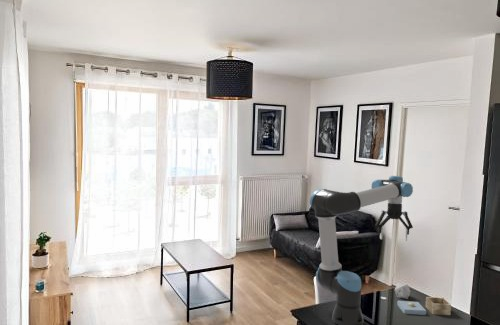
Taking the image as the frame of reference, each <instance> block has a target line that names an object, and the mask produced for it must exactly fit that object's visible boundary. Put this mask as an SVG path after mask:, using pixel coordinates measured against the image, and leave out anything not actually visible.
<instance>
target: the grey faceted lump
mask: <svg viewBox="0 0 500 325" xmlns="http://www.w3.org/2000/svg"><path fill="white" fill-rule="evenodd" d="M394 292H395V296H396V298H399V299H403V300H408V299H409V297H410V294H411V293H412V292H411V290H410V287H409V285H408V284H407V283H401V282H397V283H396V285H395V288H394Z"/></svg>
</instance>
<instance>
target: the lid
mask: <svg viewBox="0 0 500 325" xmlns="http://www.w3.org/2000/svg"><path fill="white" fill-rule="evenodd" d="M396 305H397V307H398V308H399V309H400V311H401V312H402V313H403V314H406V315H419V316H420V315H421V316H426V315H427V310H426V309H425V308H424V307H423V306H422V305H421V304H420V302H418V301H409V300H397V301H396Z"/></svg>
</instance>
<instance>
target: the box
mask: <svg viewBox="0 0 500 325" xmlns="http://www.w3.org/2000/svg"><path fill="white" fill-rule="evenodd" d="M425 308H426V309H427V310H428V311H429V312H430V313H431V314H432V315H439V316H441V315H442V316H451V312H452V304H451V303H449V302H448V301H447V300H446V299H445V298H444V297H433V296H432V297H431V296H426V297H425Z"/></svg>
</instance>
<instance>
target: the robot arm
mask: <svg viewBox="0 0 500 325" xmlns="http://www.w3.org/2000/svg"><path fill="white" fill-rule="evenodd" d="M403 178H404V177H403V176H401V175H390V176H389V177H388V179H375V180H373V181H372V182H371V188H369V189H366V190H362V191H359V192H355V191H349V192H343V191H341V192H340V191H337V190H335V191H334V190H332V189H331V190H330V189H326V188H318V189H316V190H315V191H314V192H312V194H311V196H310V198H309V204H310V207H311V208H312V210H314V216H315V218H317V219H318V229H319V244H320V257H321V262H320V264H319V267H318V268H317V270H316V273H315V277H316V282H317V283H318V284H319V286H320V287H321V288H323V289H324V290H326V291H328V292H330V293H332V294H333V295H335V296H336V300H335V306H334V309H333V311H332V314H331V320H332V323H334V324H335V323H336V324H338V325H364V316H363V313H362V309H361V304H362V303H361V300H362V288H363V287H362V279H361V277H360V276H359V275H358V274H357V273H354V272H352V271H349V270H343V268H342V266H343V265H342V264H341V263H340V262H339V254H338V252H339V250H338V237H337V227H336V226H337V225H336V218H337V217H338V216H339V215H341V216H342V215H346V214H350V213H353V212H357V211H359V210H361V208H364V207H367V206H371V205H375V204H379V203H383V202H385V201H387V202H388V203H387V210H386V211H385V210H381V214H380V215H379V217H378V219H377V221H376V223H375V224H374V225H375V227H376V228H378V234H379V239H380V240H383V237H384V236H383V235H384V232H383V230H384V229H383V227H384V226H385V225H386V223H387V222H389V221H390V220H399V221H400V222H401V223H402V225H403V226H404V227H405V228H404V230H403V231H404V233H403V240H404V241H408V235H410V229H413V228H414V227H413V225H412V222H411V220H410V218H409V216H408V215H409V214H408V211H403V204H402V203H403V198H409V197H411V196H412V195H413V192H414V189H413V188H414V187H413V185H412V184H411V183H410V182H405V181H404V179H403ZM386 215H387V216H386ZM402 215H403V217H404V218H405V220H404V219H403V218H402ZM385 216H386V217H385ZM384 217H385V218H384ZM405 221H406V222H405ZM336 324H335V325H336Z"/></svg>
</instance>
